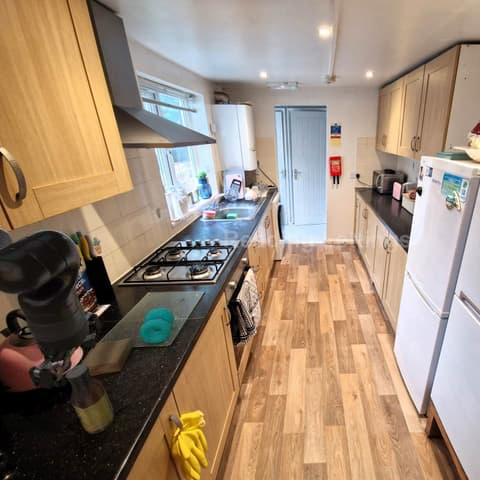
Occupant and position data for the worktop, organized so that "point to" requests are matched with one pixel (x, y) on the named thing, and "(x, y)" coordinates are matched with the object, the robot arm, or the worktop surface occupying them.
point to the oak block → (108, 356)
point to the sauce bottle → (90, 400)
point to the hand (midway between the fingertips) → (76, 364)
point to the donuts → (157, 325)
